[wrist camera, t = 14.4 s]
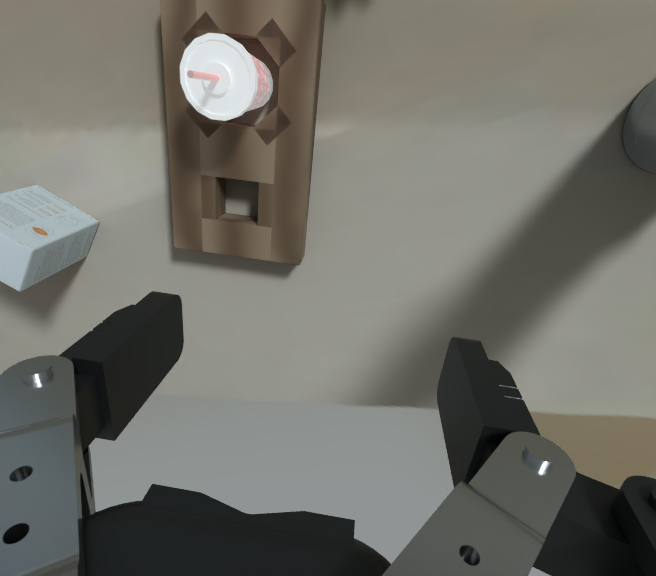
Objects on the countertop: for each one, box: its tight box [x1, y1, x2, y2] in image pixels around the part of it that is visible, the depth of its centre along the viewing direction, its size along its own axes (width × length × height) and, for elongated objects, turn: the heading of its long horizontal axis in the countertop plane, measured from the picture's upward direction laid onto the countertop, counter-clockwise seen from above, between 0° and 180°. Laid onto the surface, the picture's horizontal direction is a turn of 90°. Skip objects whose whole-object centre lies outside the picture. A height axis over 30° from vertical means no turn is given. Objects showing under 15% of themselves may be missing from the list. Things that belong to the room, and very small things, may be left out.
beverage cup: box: [180, 33, 273, 121], centre depth 33 cm, size 6×6×14 cm
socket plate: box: [160, 0, 326, 265], centre depth 41 cm, size 14×24×3 cm, turn 174°
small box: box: [0, 185, 99, 292], centre depth 44 cm, size 8×6×10 cm
